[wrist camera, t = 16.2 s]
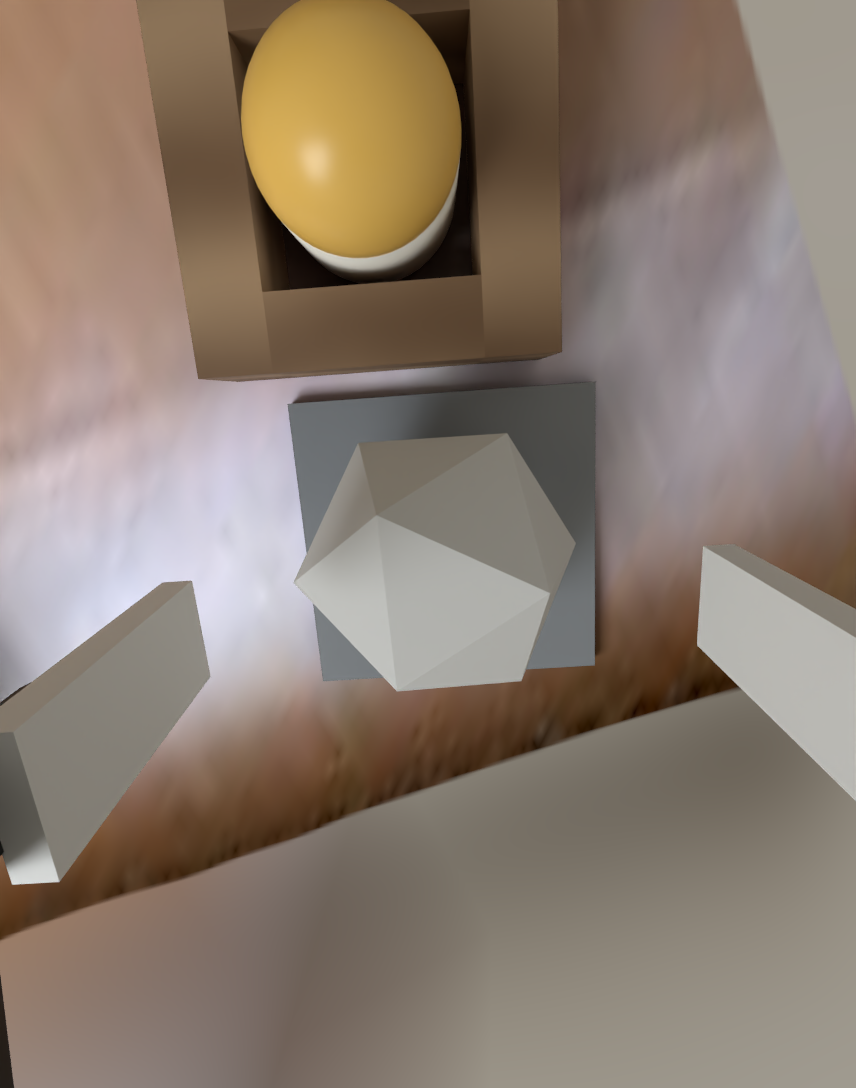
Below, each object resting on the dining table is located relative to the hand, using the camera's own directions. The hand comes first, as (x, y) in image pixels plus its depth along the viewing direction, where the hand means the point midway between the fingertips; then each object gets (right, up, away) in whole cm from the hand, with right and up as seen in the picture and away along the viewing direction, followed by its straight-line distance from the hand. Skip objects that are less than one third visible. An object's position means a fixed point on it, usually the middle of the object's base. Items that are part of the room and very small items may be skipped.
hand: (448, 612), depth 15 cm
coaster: (0, +2, +10) cm, 10 cm away
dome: (-3, +14, +5) cm, 15 cm away
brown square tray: (-2, +14, +6) cm, 16 cm away
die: (0, +2, +9) cm, 9 cm away
